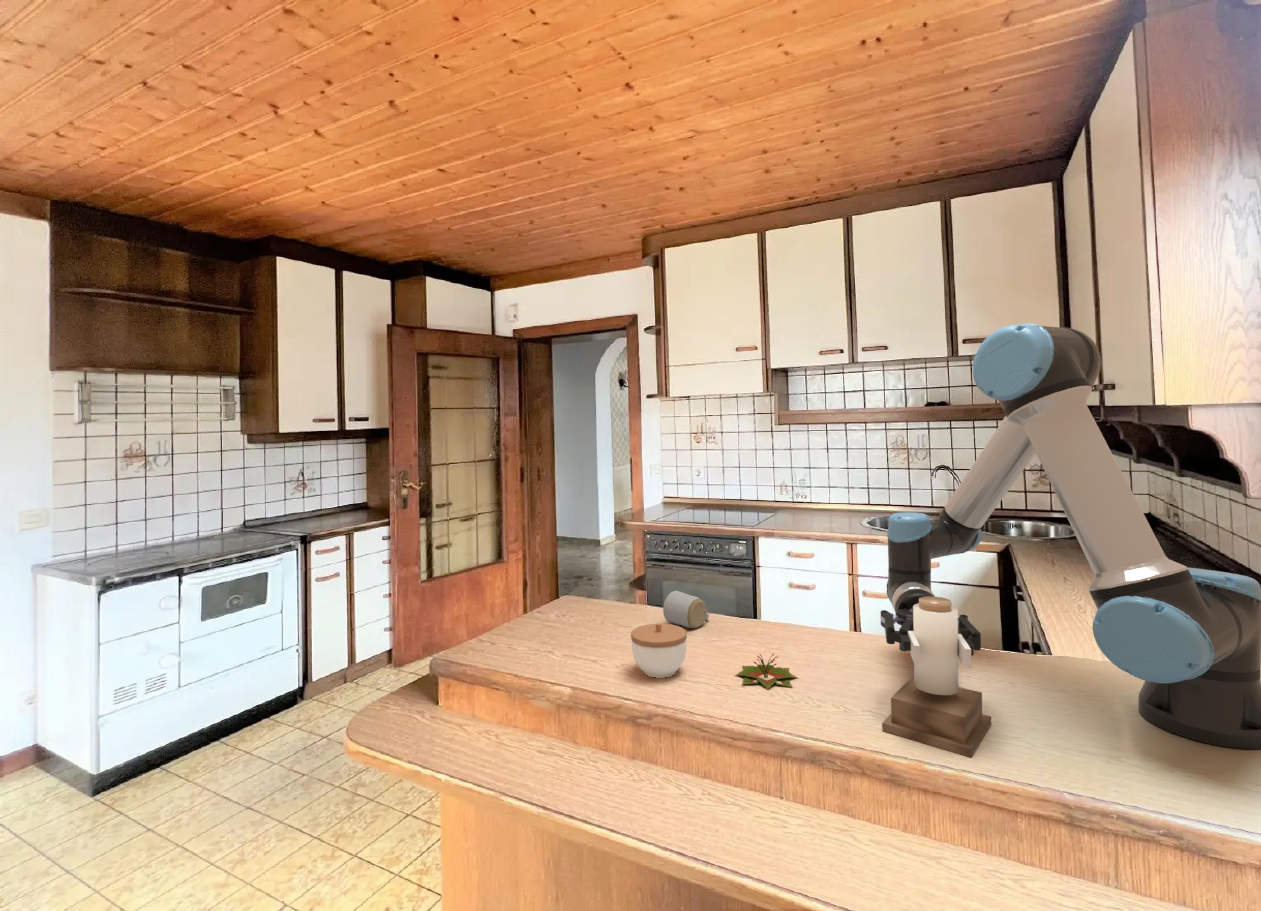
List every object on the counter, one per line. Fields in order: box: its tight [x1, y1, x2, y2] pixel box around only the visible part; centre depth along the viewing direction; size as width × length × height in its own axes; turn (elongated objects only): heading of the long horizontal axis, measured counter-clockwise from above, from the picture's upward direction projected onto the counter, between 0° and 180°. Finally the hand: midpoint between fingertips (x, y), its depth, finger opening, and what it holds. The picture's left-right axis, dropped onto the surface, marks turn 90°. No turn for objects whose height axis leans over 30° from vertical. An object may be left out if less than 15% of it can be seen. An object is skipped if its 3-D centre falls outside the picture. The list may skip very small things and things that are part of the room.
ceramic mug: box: [662, 590, 710, 629], centre depth 145 cm, size 11×8×8 cm
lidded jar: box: [630, 622, 688, 679], centre depth 117 cm, size 11×11×9 cm
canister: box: [913, 596, 960, 695], centre depth 92 cm, size 6×6×13 cm
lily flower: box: [735, 653, 798, 690], centre depth 113 cm, size 12×12×5 cm
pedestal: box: [881, 675, 992, 758], centre depth 92 cm, size 12×12×5 cm
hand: (942, 656), depth 87 cm, fingers closed on canister, 6 cm apart
